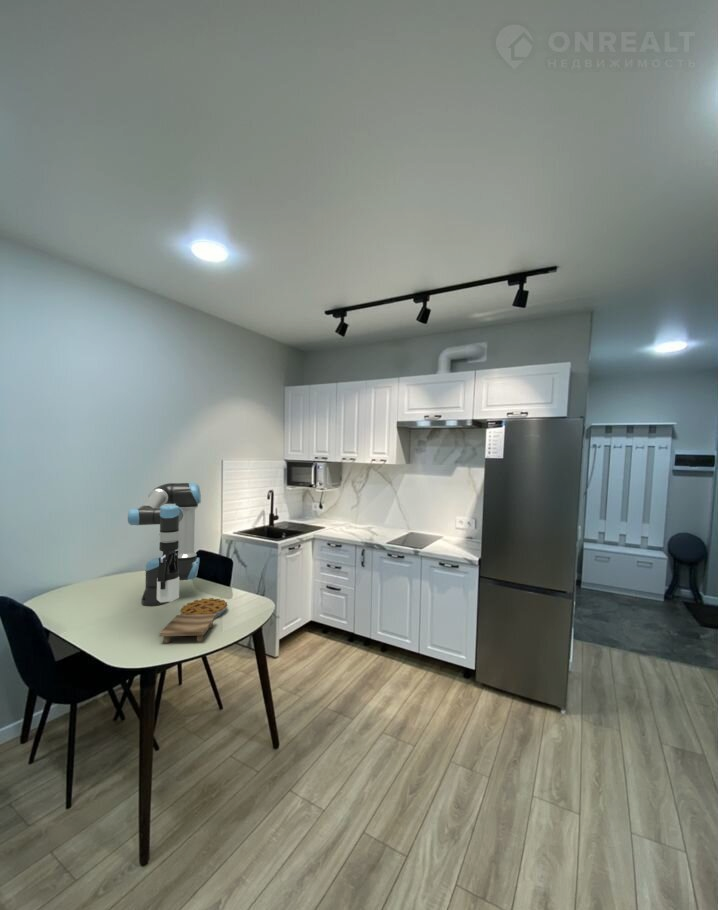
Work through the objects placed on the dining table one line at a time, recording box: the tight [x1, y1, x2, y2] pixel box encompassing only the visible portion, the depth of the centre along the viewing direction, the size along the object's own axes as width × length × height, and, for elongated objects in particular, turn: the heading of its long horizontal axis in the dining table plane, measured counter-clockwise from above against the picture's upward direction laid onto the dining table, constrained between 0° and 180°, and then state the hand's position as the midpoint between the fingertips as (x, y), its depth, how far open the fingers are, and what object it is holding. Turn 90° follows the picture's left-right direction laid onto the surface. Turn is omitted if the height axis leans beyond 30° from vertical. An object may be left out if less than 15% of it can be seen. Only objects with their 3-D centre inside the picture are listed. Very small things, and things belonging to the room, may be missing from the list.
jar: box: [157, 569, 180, 603], centre depth 163 cm, size 9×8×12 cm
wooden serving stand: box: [158, 614, 216, 644], centre depth 165 cm, size 18×18×5 cm
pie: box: [179, 597, 228, 619], centre depth 187 cm, size 22×22×5 cm
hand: (168, 592), depth 163 cm, fingers closed on jar, 8 cm apart
